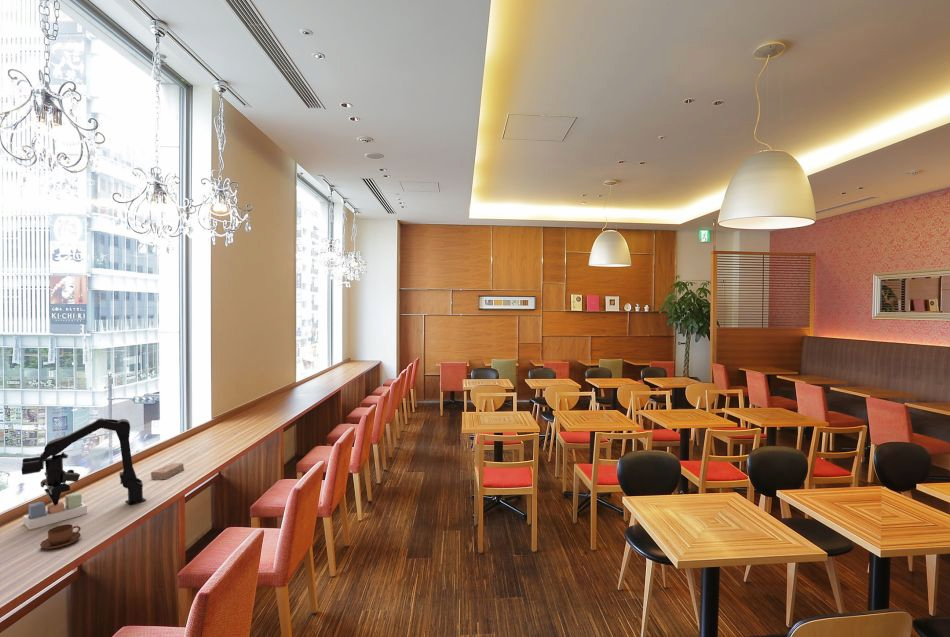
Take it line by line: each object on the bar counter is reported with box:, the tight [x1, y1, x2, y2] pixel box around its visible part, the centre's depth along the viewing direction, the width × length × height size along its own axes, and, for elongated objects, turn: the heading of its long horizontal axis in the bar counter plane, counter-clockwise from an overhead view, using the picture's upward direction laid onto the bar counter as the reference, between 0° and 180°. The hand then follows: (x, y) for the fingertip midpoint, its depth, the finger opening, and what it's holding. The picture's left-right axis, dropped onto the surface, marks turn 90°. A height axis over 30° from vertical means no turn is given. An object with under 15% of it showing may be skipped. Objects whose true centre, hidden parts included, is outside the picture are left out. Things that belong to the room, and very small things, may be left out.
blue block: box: [27, 501, 46, 520], centre depth 206 cm, size 5×5×6 cm
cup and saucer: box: [39, 524, 81, 550], centre depth 187 cm, size 12×12×6 cm
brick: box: [150, 462, 185, 480], centre depth 266 cm, size 17×8×5 cm, turn 179°
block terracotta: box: [46, 501, 65, 514], centre depth 211 cm, size 5×5×6 cm
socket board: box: [23, 502, 88, 530], centre depth 211 cm, size 10×19×4 cm, turn 144°
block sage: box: [64, 491, 83, 509], centre depth 216 cm, size 5×5×6 cm
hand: (55, 504), depth 211 cm, fingers closed, pressing on block terracotta
